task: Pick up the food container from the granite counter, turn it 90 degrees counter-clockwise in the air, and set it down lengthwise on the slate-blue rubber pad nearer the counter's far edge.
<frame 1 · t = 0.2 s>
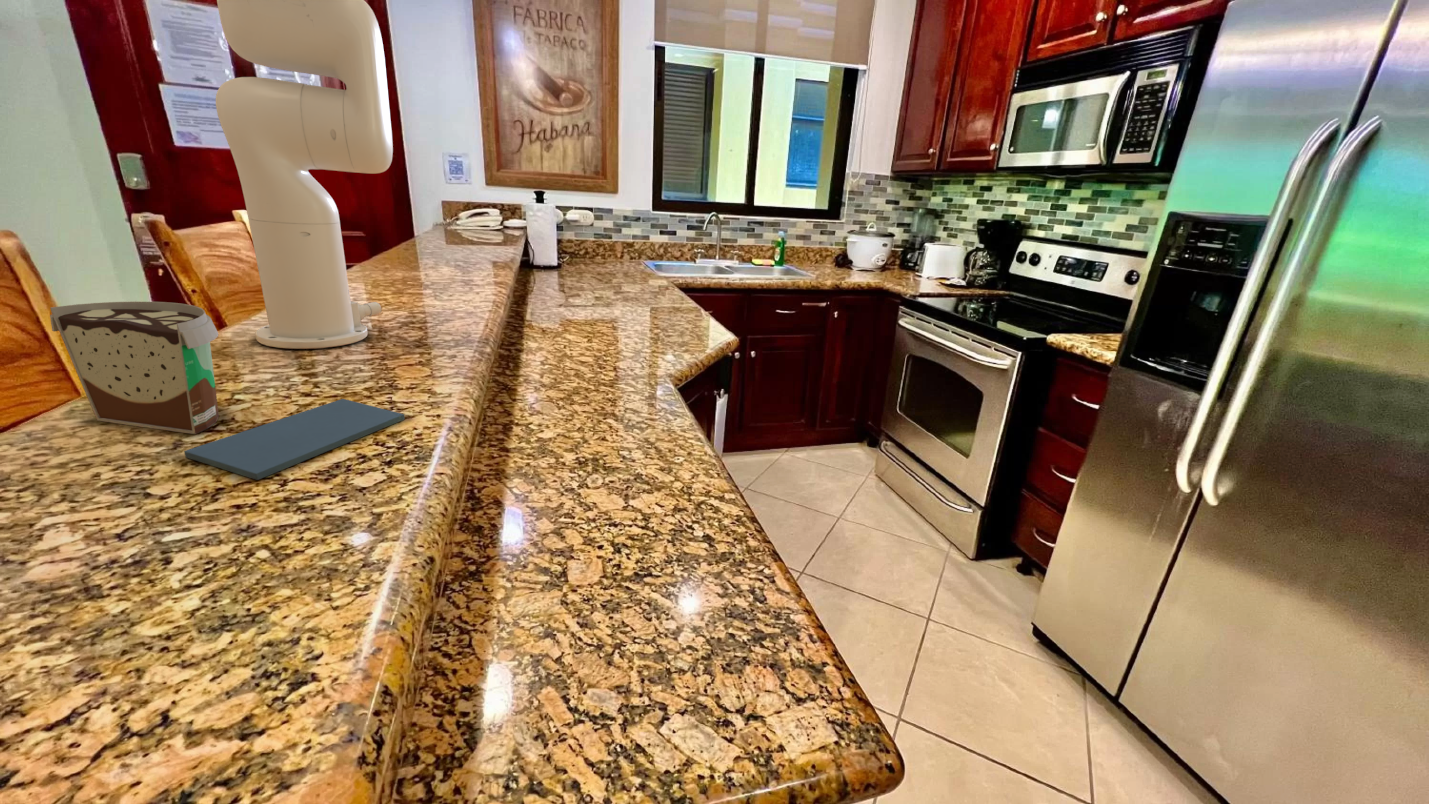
pad: (306, 436, 50), on the table
food container: (181, 416, 51), on the table
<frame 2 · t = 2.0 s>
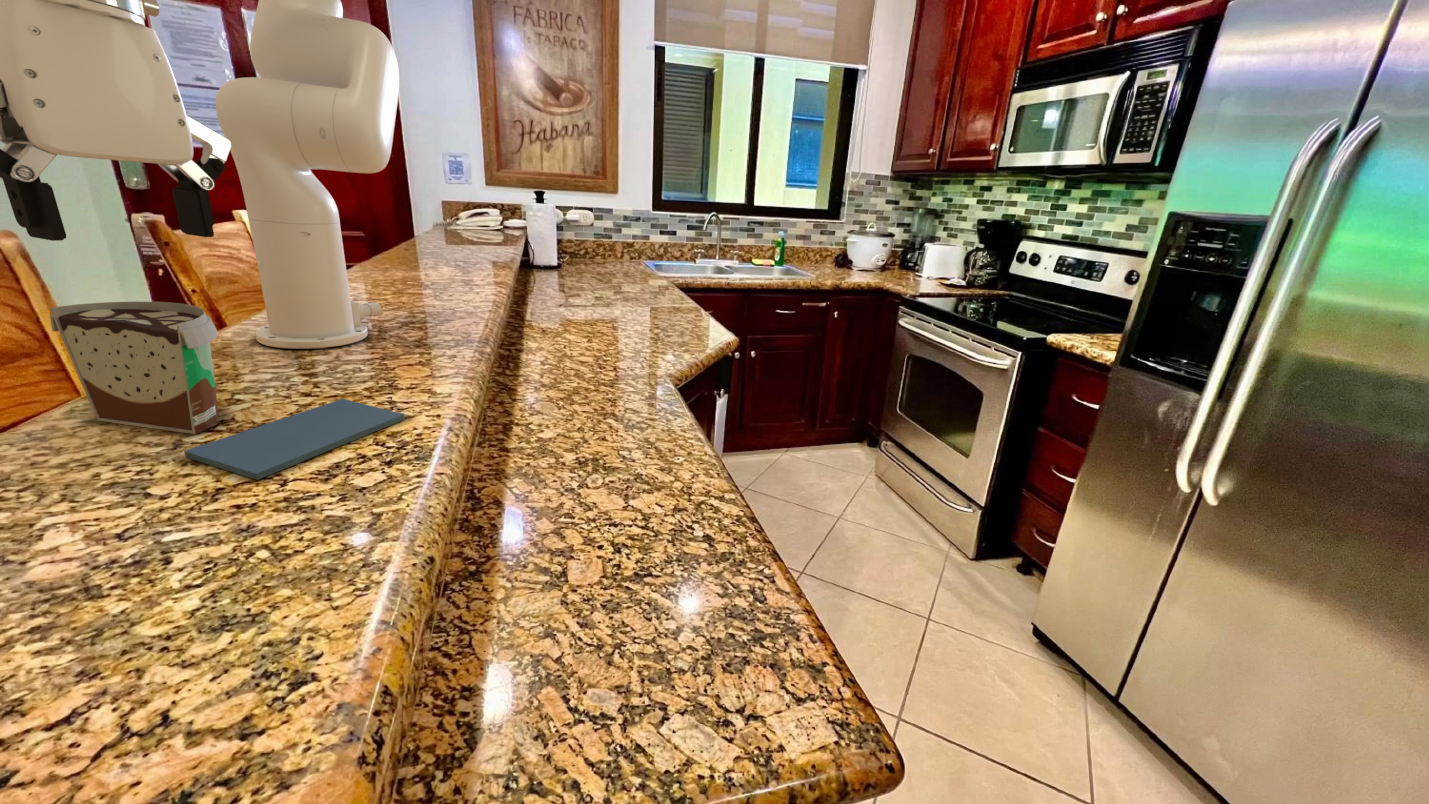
hand: (130, 236, 45), 16 cm above the table, tool pointing down, fingers open, 9 cm apart
nothing on the table moved.
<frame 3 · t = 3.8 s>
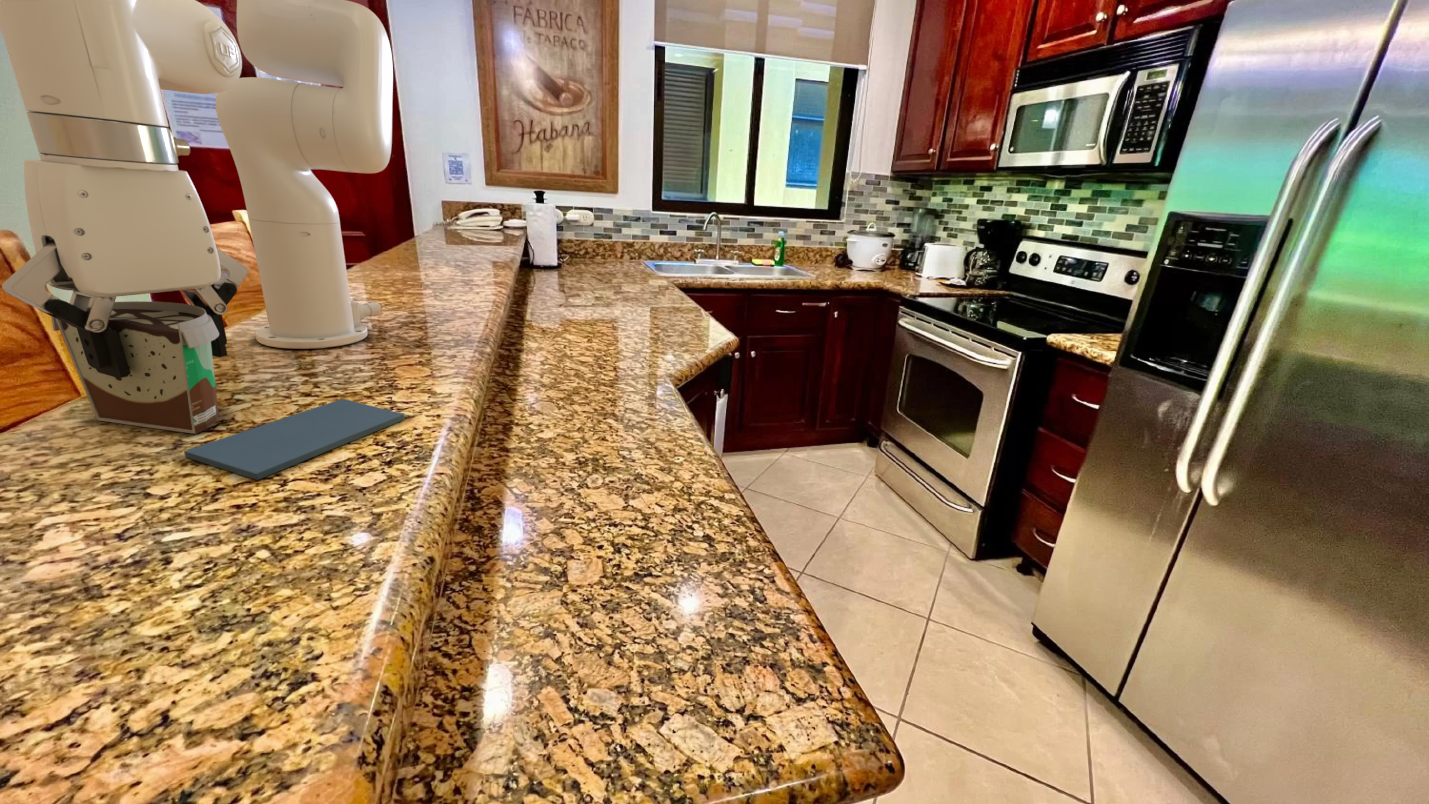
hand: (165, 362, 49), 5 cm above the table, tool pointing down, fingers closed on food container, 6 cm apart
food container: (181, 416, 51), on the table, touching gripper
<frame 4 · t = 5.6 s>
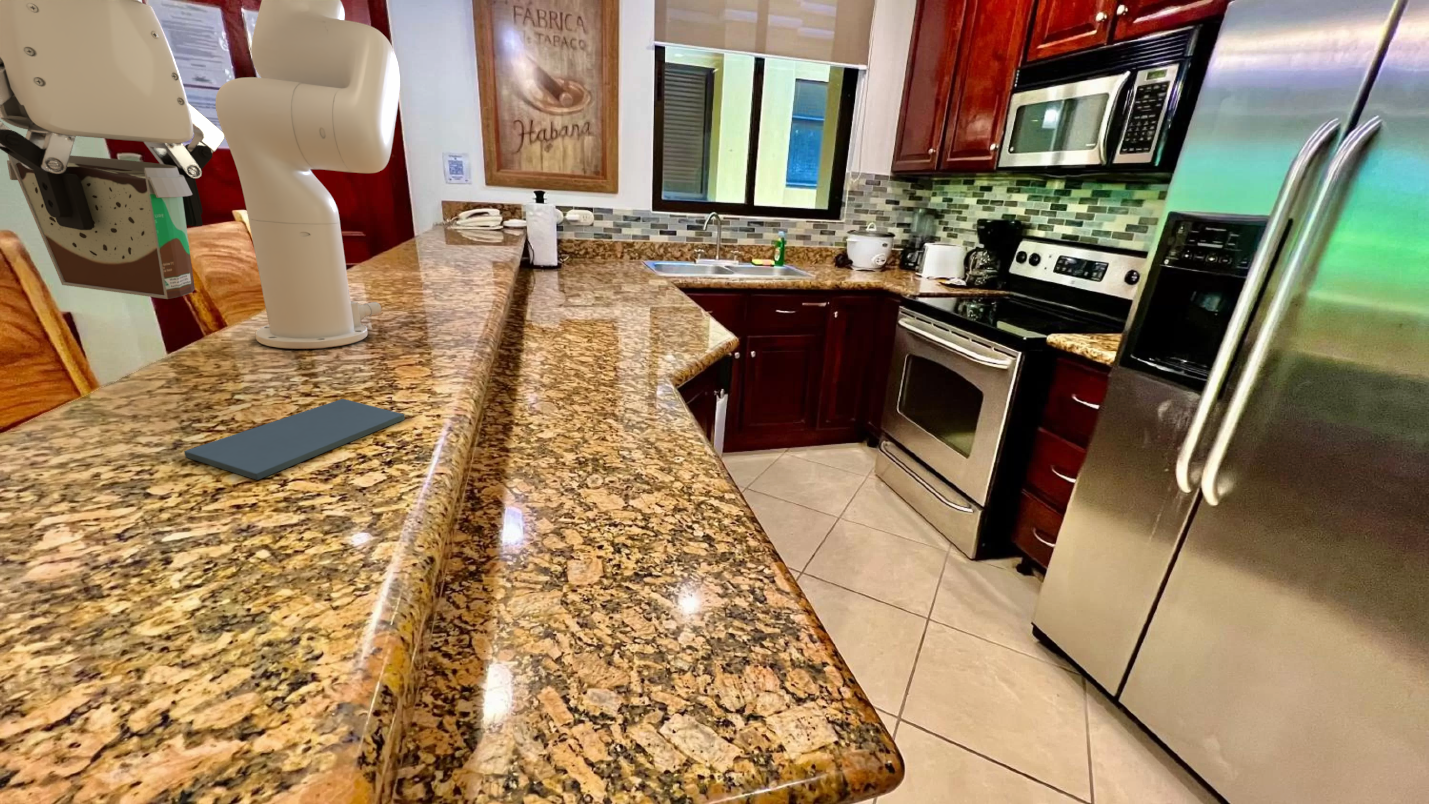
hand: (135, 224, 46), 17 cm above the table, tool pointing down, fingers closed on food container, 6 cm apart
food container: (154, 288, 48), point 12 cm above the table, touching gripper
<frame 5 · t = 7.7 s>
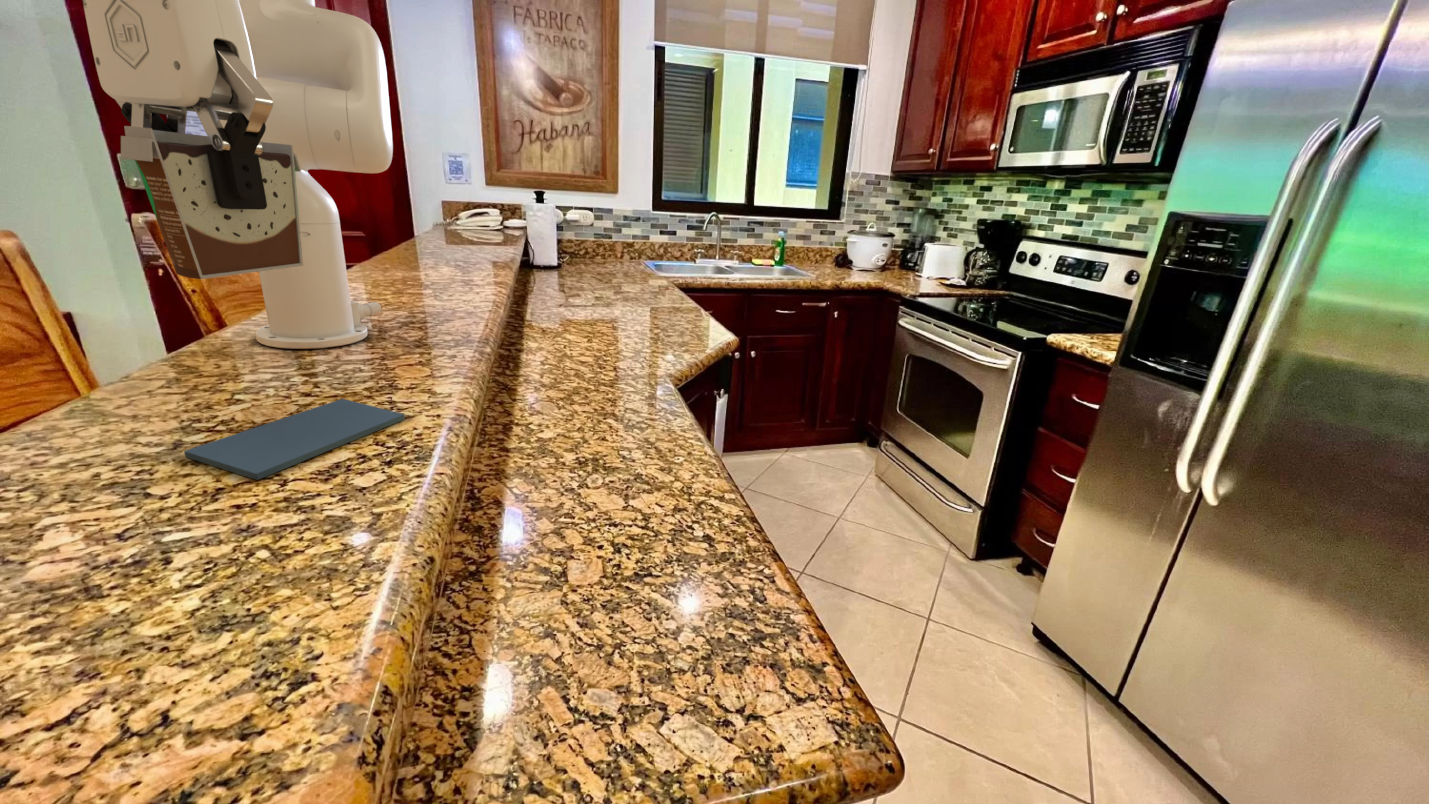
hand: (210, 201, 43), 20 cm above the table, tool pointing down, fingers closed on food container, 6 cm apart
food container: (222, 270, 45), point 14 cm above the table, touching gripper
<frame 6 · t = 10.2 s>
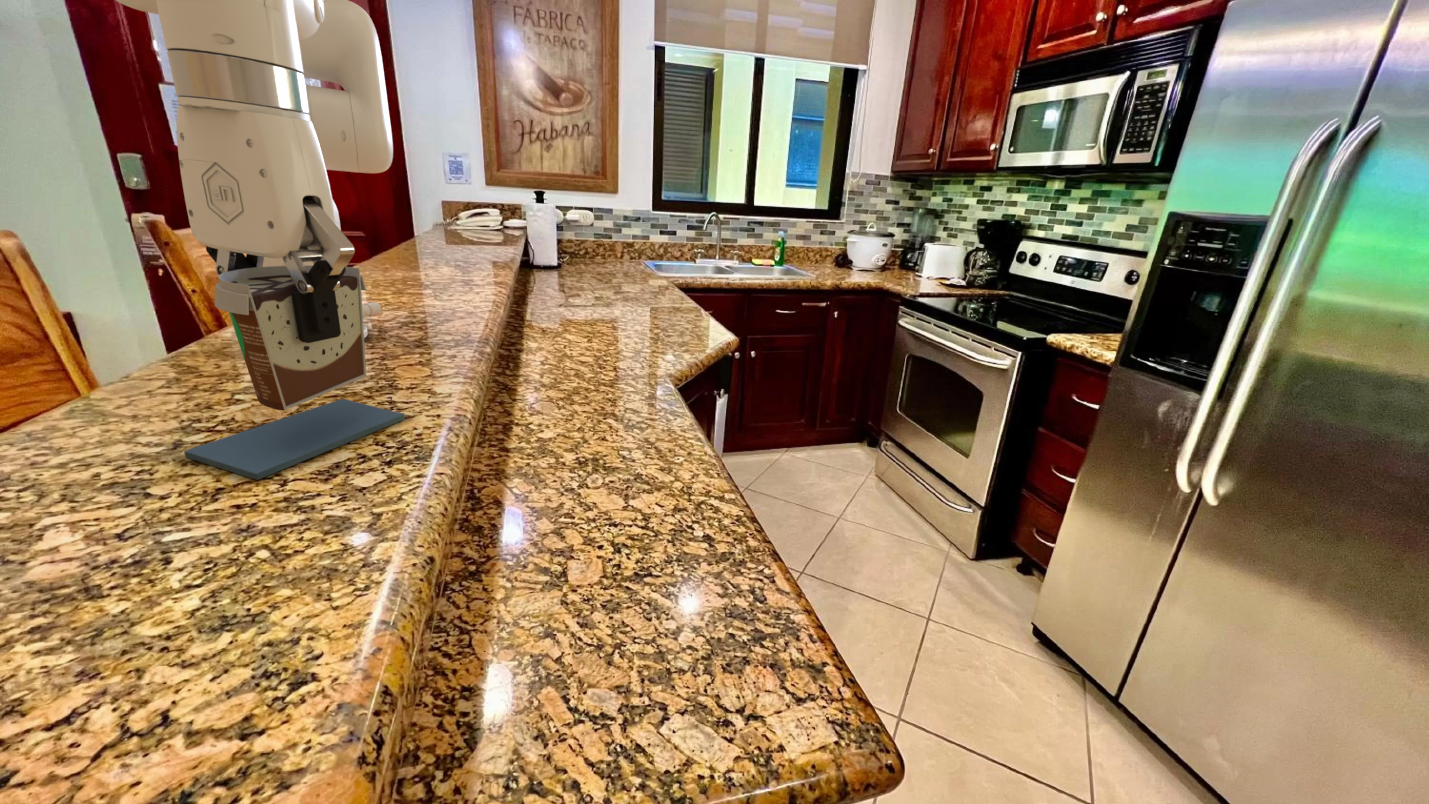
hand: (287, 330, 46), 10 cm above the table, tool pointing down, fingers closed on food container, 6 cm apart
food container: (296, 389, 48), point 5 cm above the table, touching gripper
when the fingers open (6 cm above the table, at t = 11.8 s): food container stays where it is, resting on pad.
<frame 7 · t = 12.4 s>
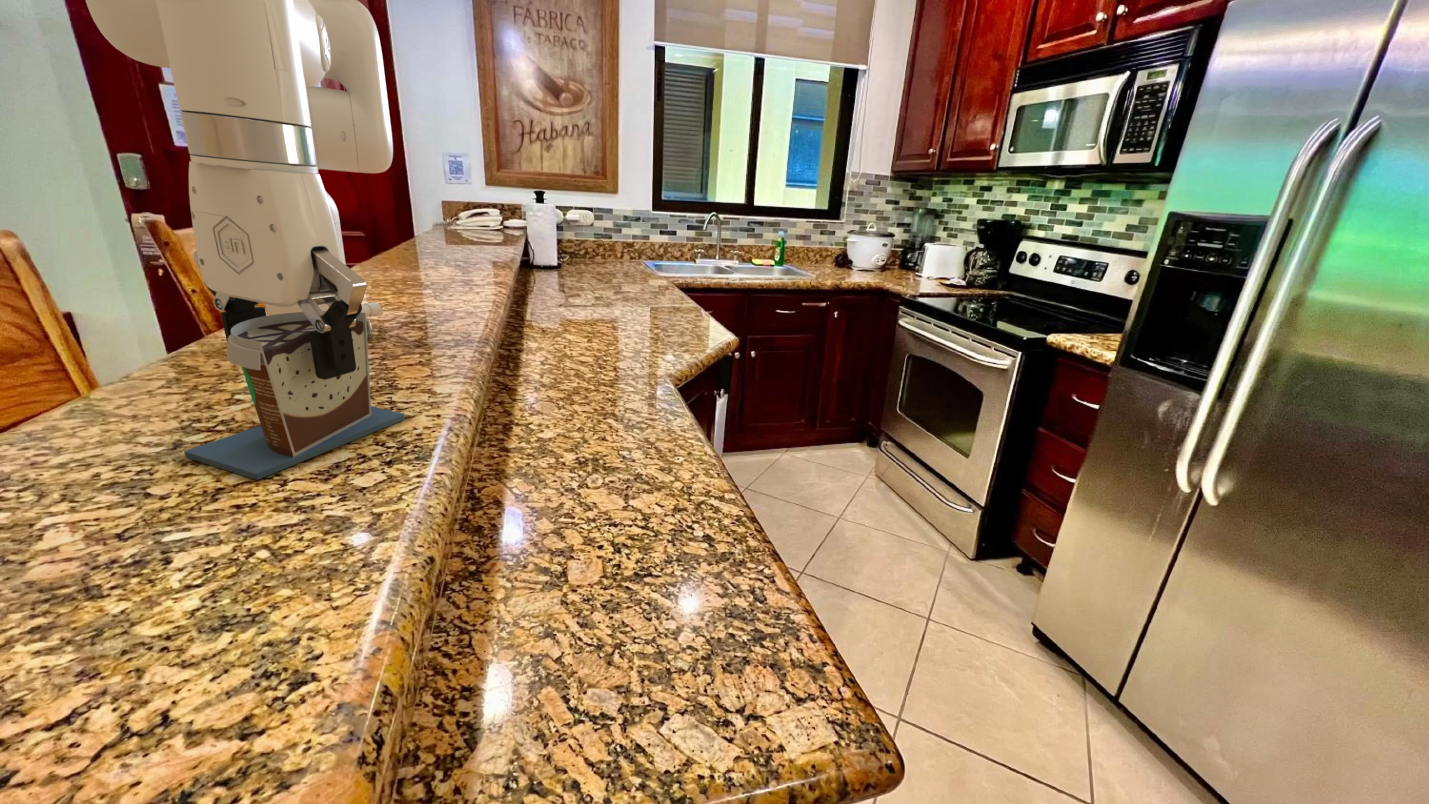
hand: (293, 364, 47), 7 cm above the table, tool pointing down, fingers open, 9 cm apart
food container: (304, 432, 50), resting on pad
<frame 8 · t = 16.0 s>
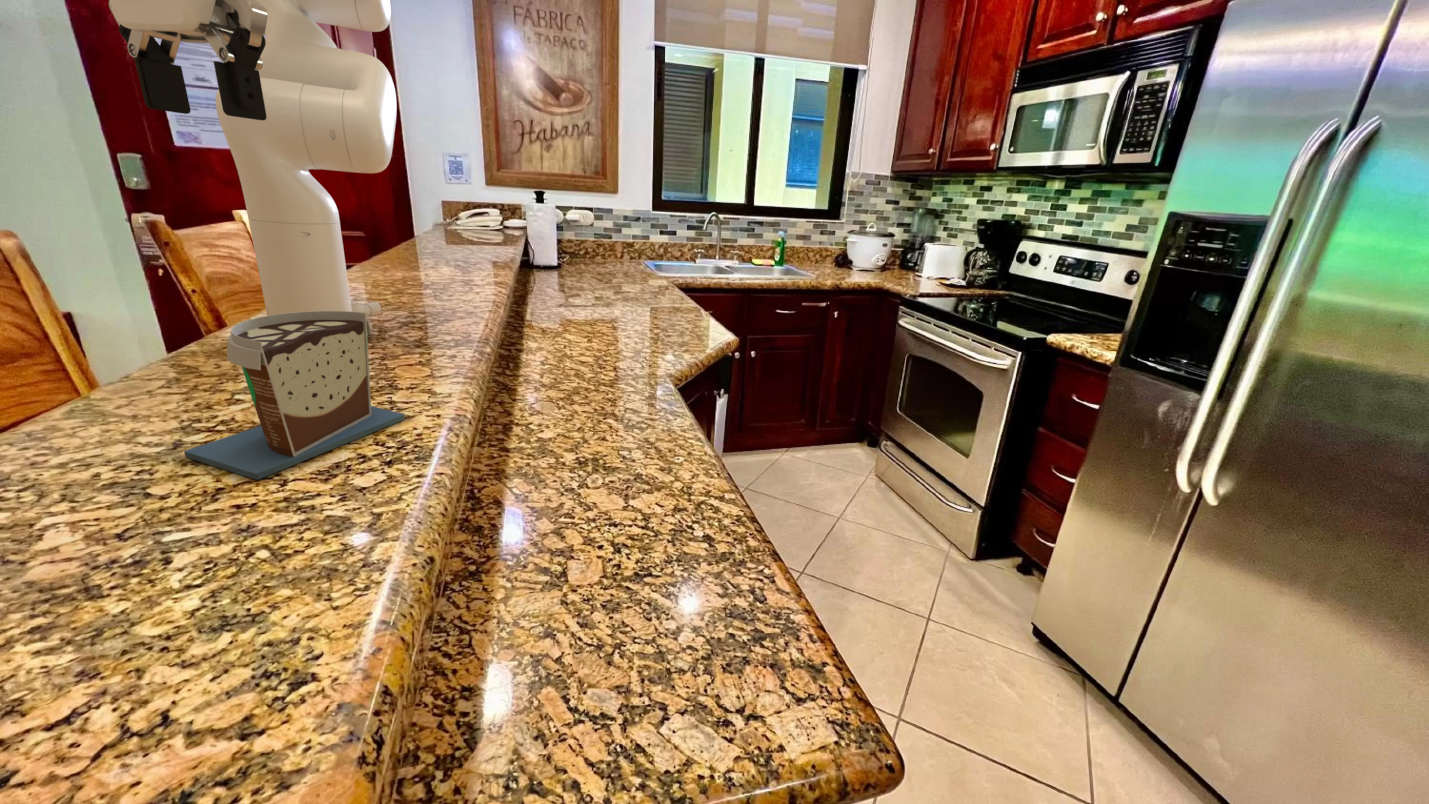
hand: (206, 114, 49), 26 cm above the table, tool pointing down, fingers open, 9 cm apart
nothing on the table moved.
at the end: food container 0.2 cm off-centre on the pad, point 0.4 cm above the pad's base; food container tilted 0°; the gripper is holding nothing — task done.
